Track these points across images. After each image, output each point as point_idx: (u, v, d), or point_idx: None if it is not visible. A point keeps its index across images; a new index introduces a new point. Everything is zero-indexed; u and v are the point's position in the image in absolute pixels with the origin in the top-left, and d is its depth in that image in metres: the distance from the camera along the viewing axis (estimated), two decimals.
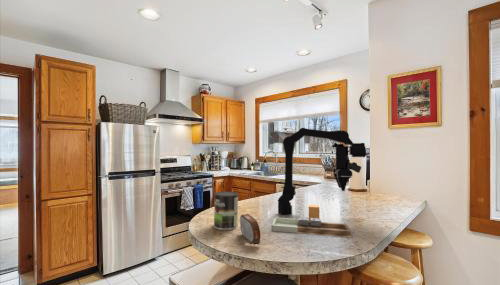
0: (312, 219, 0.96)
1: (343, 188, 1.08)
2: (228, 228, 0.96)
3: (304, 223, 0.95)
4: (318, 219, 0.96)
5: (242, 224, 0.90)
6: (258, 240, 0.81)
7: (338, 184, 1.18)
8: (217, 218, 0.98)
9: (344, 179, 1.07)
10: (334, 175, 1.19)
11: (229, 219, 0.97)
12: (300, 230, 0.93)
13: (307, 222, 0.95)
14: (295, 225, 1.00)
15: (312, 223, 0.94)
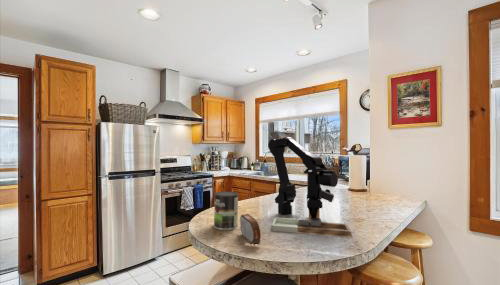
0: (312, 219, 0.96)
1: None
2: (228, 228, 0.96)
3: (304, 223, 0.95)
4: (318, 219, 0.96)
5: (242, 224, 0.90)
6: (258, 240, 0.81)
7: None
8: (217, 218, 0.98)
9: (314, 208, 1.02)
10: None
11: (229, 219, 0.97)
12: (300, 230, 0.93)
13: (307, 222, 0.95)
14: (295, 225, 1.00)
15: (312, 223, 0.94)
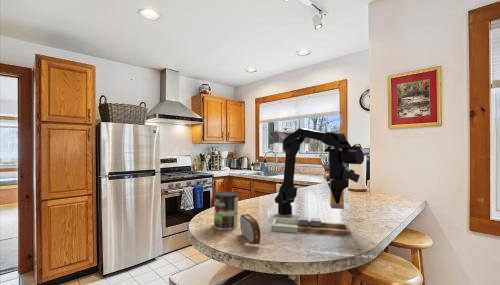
0: (312, 219, 0.96)
1: (337, 200, 0.92)
2: (228, 228, 0.96)
3: (304, 223, 0.95)
4: (318, 219, 0.96)
5: (242, 224, 0.90)
6: (258, 240, 0.81)
7: None
8: (217, 218, 0.98)
9: (338, 190, 0.91)
10: None
11: (229, 219, 0.97)
12: (300, 230, 0.93)
13: (307, 222, 0.95)
14: (295, 225, 1.00)
15: (312, 223, 0.94)
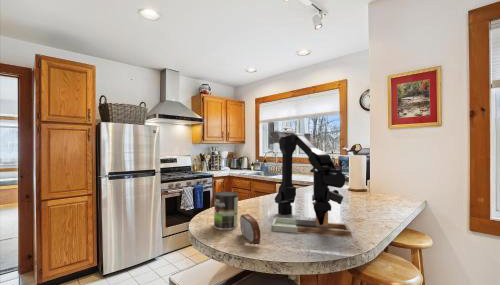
0: (307, 219, 0.96)
1: (321, 222, 0.93)
2: (228, 228, 0.96)
3: (301, 223, 0.95)
4: (313, 219, 0.96)
5: (242, 224, 0.90)
6: (258, 240, 0.81)
7: None
8: (217, 218, 0.98)
9: (322, 211, 0.92)
10: (313, 205, 0.99)
11: (229, 219, 0.97)
12: (300, 230, 0.93)
13: (304, 222, 0.95)
14: (295, 225, 1.00)
15: (307, 223, 0.95)
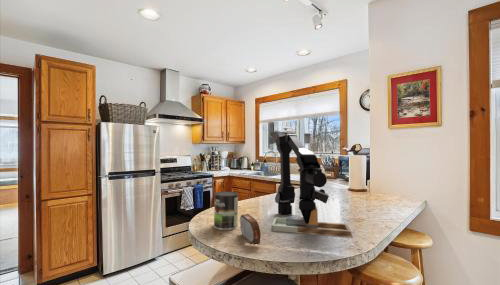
0: (298, 218, 0.97)
1: (307, 220, 0.94)
2: (228, 228, 0.96)
3: (291, 222, 0.96)
4: (303, 218, 0.97)
5: (242, 224, 0.90)
6: (258, 240, 0.81)
7: None
8: (217, 218, 0.98)
9: (307, 210, 0.93)
10: None
11: (229, 219, 0.97)
12: (300, 230, 0.93)
13: (294, 221, 0.96)
14: None
15: (297, 222, 0.95)
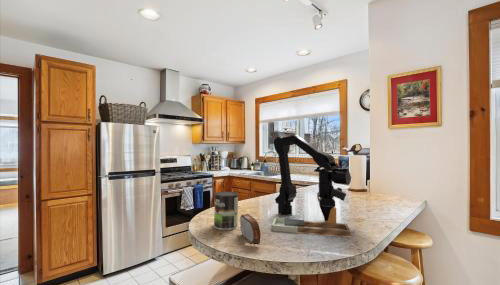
0: (296, 218, 0.97)
1: (326, 218, 1.00)
2: (228, 228, 0.96)
3: (289, 222, 0.96)
4: (302, 218, 0.97)
5: (242, 224, 0.90)
6: (258, 240, 0.81)
7: None
8: (217, 218, 0.98)
9: (327, 208, 0.99)
10: (318, 201, 1.10)
11: (229, 219, 0.97)
12: (300, 230, 0.93)
13: (293, 221, 0.96)
14: None
15: (296, 222, 0.95)
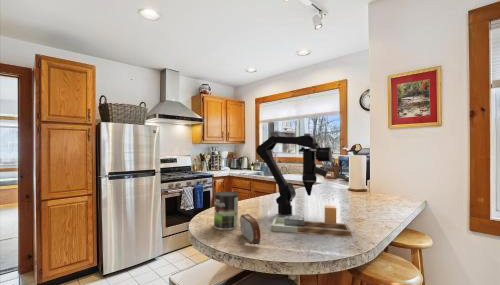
0: (296, 218, 0.97)
1: (309, 193, 1.08)
2: (228, 228, 0.96)
3: (289, 222, 0.96)
4: (302, 218, 0.97)
5: (242, 224, 0.90)
6: (258, 240, 0.81)
7: None
8: (217, 218, 0.98)
9: (309, 184, 1.08)
10: None
11: (229, 219, 0.97)
12: (300, 230, 0.93)
13: (293, 221, 0.96)
14: None
15: (296, 222, 0.95)
